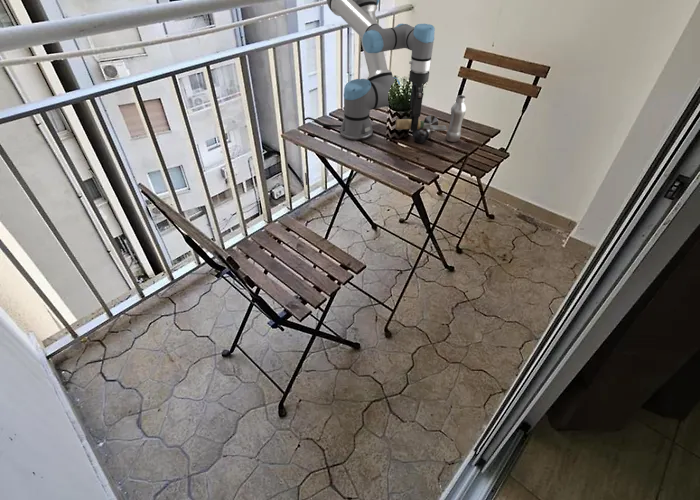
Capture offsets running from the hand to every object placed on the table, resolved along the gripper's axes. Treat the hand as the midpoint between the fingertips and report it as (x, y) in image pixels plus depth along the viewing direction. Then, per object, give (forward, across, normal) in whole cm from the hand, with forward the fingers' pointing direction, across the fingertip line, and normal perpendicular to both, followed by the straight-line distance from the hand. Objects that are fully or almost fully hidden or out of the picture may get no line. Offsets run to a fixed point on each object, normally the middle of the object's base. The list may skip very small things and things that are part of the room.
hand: (412, 128), depth 165 cm
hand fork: (0, 0, +3) cm, 3 cm away
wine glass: (+6, -20, +12) cm, 24 cm away
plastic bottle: (+10, -9, +21) cm, 25 cm away
